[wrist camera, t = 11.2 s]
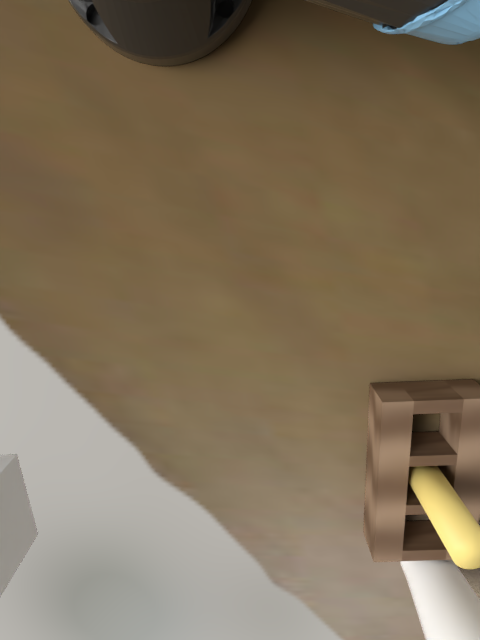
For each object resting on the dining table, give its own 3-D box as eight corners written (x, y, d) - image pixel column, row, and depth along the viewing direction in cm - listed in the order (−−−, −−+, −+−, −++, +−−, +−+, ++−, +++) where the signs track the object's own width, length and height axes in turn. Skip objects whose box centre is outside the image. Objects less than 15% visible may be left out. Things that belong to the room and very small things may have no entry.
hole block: (369, 383, 42) (382, 402, 38) (472, 379, 42) (495, 398, 38) (363, 531, 47) (373, 562, 43) (454, 529, 47) (473, 559, 43)
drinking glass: (401, 523, 47) (470, 671, 32) (460, 533, 47) (555, 684, 33) (384, 571, 49) (442, 730, 34) (441, 580, 49) (522, 742, 35)
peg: (398, 447, 44) (452, 537, 32) (429, 444, 44) (495, 534, 32) (397, 473, 45) (450, 570, 33) (428, 471, 45) (492, 568, 33)
